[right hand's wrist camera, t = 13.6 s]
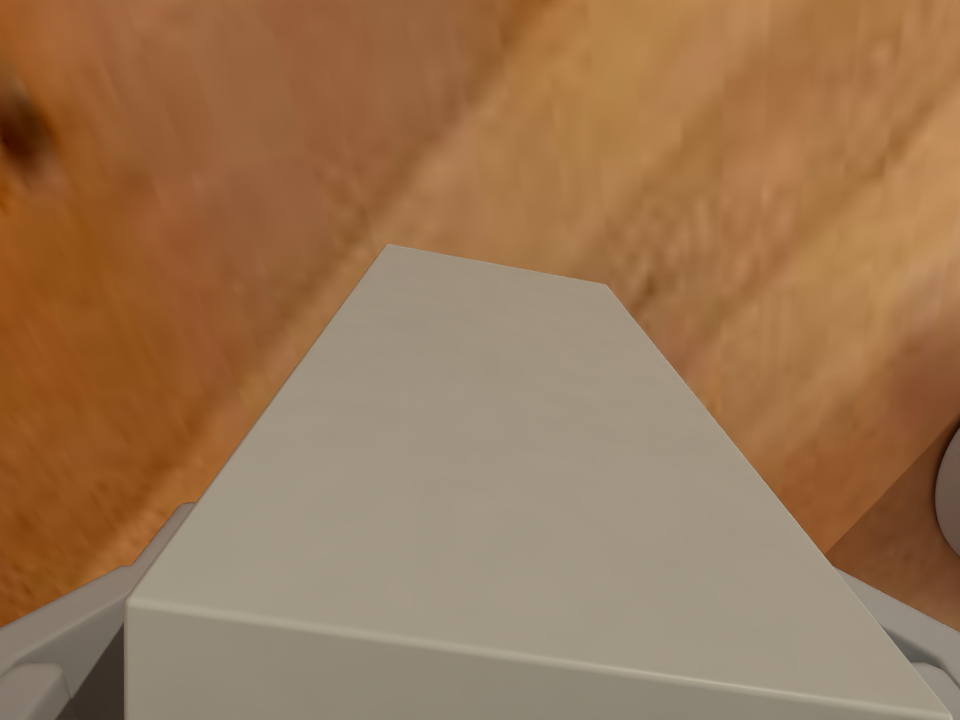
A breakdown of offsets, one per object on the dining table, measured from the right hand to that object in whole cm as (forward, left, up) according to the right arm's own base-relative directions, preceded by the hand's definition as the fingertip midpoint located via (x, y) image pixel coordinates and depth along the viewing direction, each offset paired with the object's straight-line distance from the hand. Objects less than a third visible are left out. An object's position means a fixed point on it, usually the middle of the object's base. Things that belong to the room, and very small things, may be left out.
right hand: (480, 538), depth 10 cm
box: (+1, +8, -8) cm, 11 cm away
